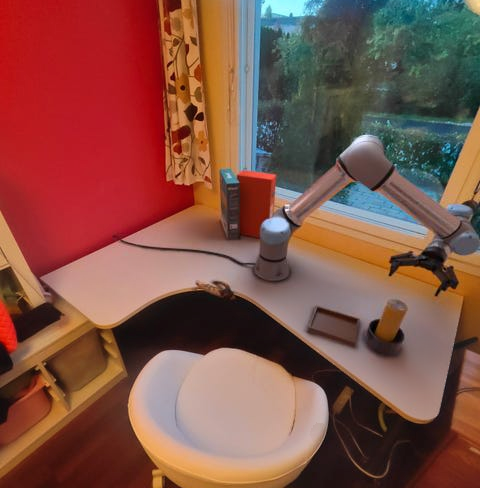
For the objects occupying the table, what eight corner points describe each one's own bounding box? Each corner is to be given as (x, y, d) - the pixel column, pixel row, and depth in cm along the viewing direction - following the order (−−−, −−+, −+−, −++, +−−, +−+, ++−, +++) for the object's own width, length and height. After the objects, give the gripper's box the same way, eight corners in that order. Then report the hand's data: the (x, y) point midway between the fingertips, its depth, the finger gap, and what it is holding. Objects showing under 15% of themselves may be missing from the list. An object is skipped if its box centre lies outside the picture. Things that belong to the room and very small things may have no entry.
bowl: (363, 348, 91) (367, 337, 88) (366, 326, 99) (370, 315, 96) (398, 361, 88) (404, 349, 85) (399, 336, 96) (404, 325, 93)
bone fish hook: (242, 292, 114) (205, 278, 121) (242, 283, 112) (204, 269, 119) (230, 306, 107) (191, 290, 114) (230, 296, 105) (191, 280, 112)
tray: (307, 331, 97) (308, 327, 96) (315, 309, 106) (316, 305, 105) (354, 347, 92) (355, 342, 91) (358, 322, 101) (359, 318, 99)
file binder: (267, 239, 148) (271, 179, 130) (236, 233, 153) (236, 174, 135) (272, 232, 154) (276, 174, 136) (242, 226, 159) (243, 169, 141)
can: (372, 344, 92) (386, 307, 83) (373, 332, 96) (387, 296, 87) (391, 350, 90) (408, 314, 81) (391, 338, 94) (408, 301, 85)
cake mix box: (239, 238, 149) (239, 182, 132) (227, 239, 148) (226, 183, 131) (231, 220, 166) (230, 168, 150) (221, 220, 165) (219, 169, 149)
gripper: (471, 279, 95) (454, 311, 83) (395, 250, 110) (370, 274, 98) (482, 261, 91) (465, 292, 79) (401, 233, 106) (376, 256, 93)
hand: (412, 282), depth 88 cm, fingers open, 13 cm apart
